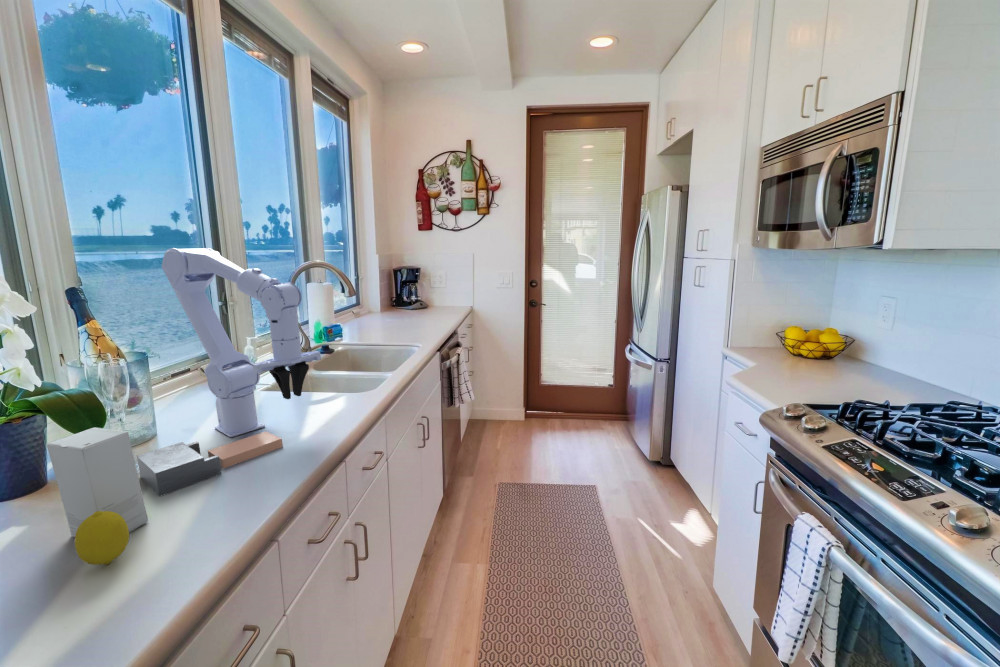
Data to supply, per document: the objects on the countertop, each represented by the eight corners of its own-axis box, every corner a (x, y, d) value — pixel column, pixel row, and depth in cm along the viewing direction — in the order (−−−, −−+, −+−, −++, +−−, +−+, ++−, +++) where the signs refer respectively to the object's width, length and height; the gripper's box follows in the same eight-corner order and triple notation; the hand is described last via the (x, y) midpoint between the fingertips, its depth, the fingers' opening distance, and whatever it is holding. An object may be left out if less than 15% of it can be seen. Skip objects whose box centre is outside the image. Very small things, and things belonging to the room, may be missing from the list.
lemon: (103, 580, 59) (91, 526, 58) (70, 575, 60) (57, 521, 59) (143, 553, 65) (134, 502, 63) (112, 548, 66) (102, 498, 64)
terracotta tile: (209, 461, 94) (207, 450, 93) (267, 441, 103) (265, 431, 103) (223, 470, 89) (222, 459, 89) (283, 448, 99) (281, 438, 98)
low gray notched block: (140, 476, 87) (136, 455, 86) (199, 457, 94) (196, 437, 93) (159, 496, 80) (155, 473, 79) (221, 473, 87) (218, 452, 86)
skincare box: (149, 522, 72) (132, 430, 69) (102, 548, 66) (81, 449, 63) (114, 513, 75) (96, 424, 72) (65, 537, 69) (44, 441, 66)
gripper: (260, 346, 92) (268, 409, 95) (325, 334, 103) (331, 391, 106) (245, 342, 96) (253, 402, 99) (309, 331, 108) (315, 386, 110)
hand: (292, 396), depth 103 cm, fingers closed
